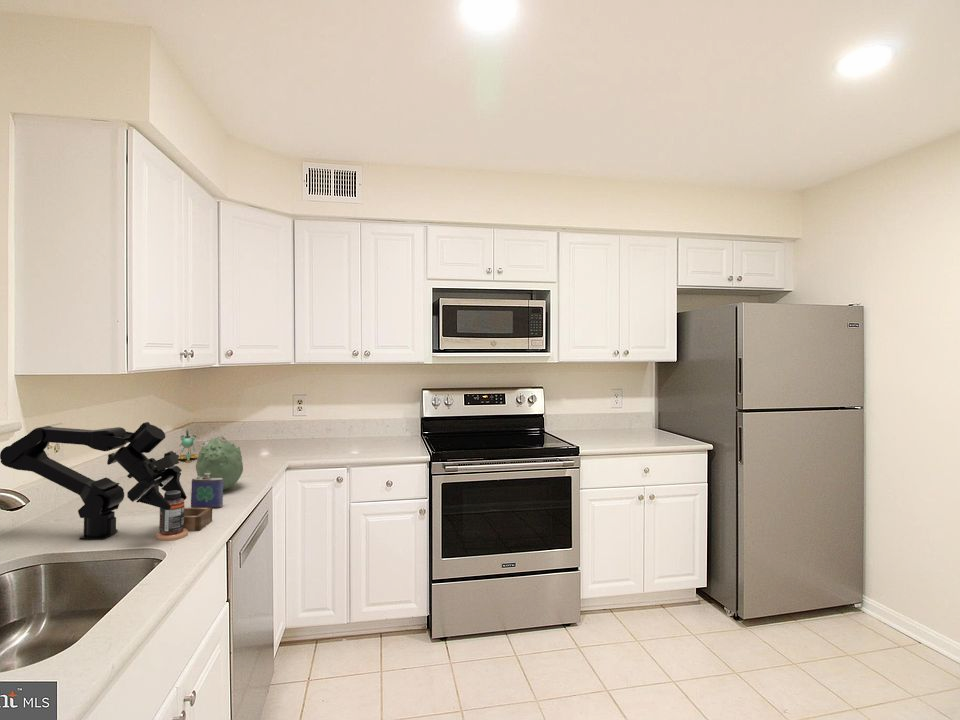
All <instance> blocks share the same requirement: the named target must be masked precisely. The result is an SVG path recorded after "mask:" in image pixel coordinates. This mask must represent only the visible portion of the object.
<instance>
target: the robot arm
mask: <svg viewBox="0 0 960 720" xmlns="http://www.w3.org/2000/svg"><path fill="white" fill-rule="evenodd" d="M164 439H166V433H165V431H163V429H162V428H159V427H157V426H156V425H154V424H150V422H148V421H146V422H143V423H141V424H140V426H139V427H138V428H137V430H135V431H134V432H131V431H126V429H125V428H123V427H120V426H119V427H109V428H108V427H107V428H100V429H82V428H71V427H70V428H69V427H68V428H67V427H54V426H50V425H45V426H42V427H41V426H40V427H36V428H34V429H32V430H31V431H30V432H29V433H28V434H25V436H23V437H21V438H19V439H17V440H16V441H15V442H13V443H12V444H11V445H8V446H5V447H4V448H2V449H1V451H0V463H1V465H3V466H4V467H6V468H10V469H14V470H17V471H23V472H24V471H25V472H32V473H35V474H36V475H39V476H41V477H42V478H44V479H47V480H48V481H50V482H52V483H54V484H57V485H59V486H60V487H62V488H64V489H67V490H69V491H70V492H73V493H74V494H76V495H78V496H79V497H80V499H81V500H82V502H83V505H82V506H81V507H80V508H79V509H78V510H77V512H78V516H79V518H80V519H83V535H81V536H80V537H79V539H80V540H104V539H107V538H108V537H111V536H112V535H114V534H115V533H117V532H118V531H119V529H118V528H117V517H116V516H115V513H116V511H115V510H118V509H119V506H120V504H121V503H122V502H123V501H124V499H125V491H124V488H123V487H122V486H121V485H120V483H119V482H116V481H113V480H112V479H111V478H109V477H103V478H101V479H97V480H95V479H92V478H90V477H88V476H86V475H84V474H81V473H79V472H78V471H76V470H74V469H72V468H70V467H68V466H66V465H64V464H62V463H60V462H58V461H56V460H54V459H53V458H50V457H49V456H48V455H47V452H46V450H45V449H46V448H48V446H49V444H50V443H52V444H53V443H54V444H68V445H79V446H80V445H81V446H87V447H89V448H91V449H93V450H97V451H102V452H108V451H109V452H110V451H112V450H116V449H117V450H116V451H115V452H112V453H108V455H107V462H106V463H107V465H109V466H110V465H111V464H115V463H118V464H119V465H120V466H121V467H122V468H123V469H124V471H126V472H127V473H128V475H126V477H127V478H128V479H132V478H133V479H134V480H136V481H137V483H136V484H135V485H134V486H132V488H130V490H128V491H127V495H126V496H127V498H128V499H129V500H130V501H131V502H132V503H134V502H135V501H136V503H141V504H145V505H150V506H153V507H155V508H159V509H160V508H162V509H166V510H169V509H170V508H171V506H170V504H169V503H168V502H167V501H166V499H165V498H164V495H162V493H161V492H160V490H159V489H161V490H162V491H164V492H167V491H173V490H177V491H181V496H180V498H182V499H184V501H185V500H186V499H187V498H188V497H187V495H186V493H185V491H184V489H183V487H182V485H181V482H180V477H181V475H182V471H183V470H182V468H180V467H179V466H178V464H179V463H180V462H179V459H178V458H179V456H180V455H179V454H177V453H176V452H174V451H173V450H170V451H168V452H166V453H164V455H163V457H161V458H159V459H157V460H156V458H154V457H150V458H148V456H146V455H145V454H149V453H150V452H152V451H153V450H154V449H155V448H156V447H157V446H158V445H160V444H161V443H162V442H163V441H164ZM127 444H128V445H127ZM125 445H126V446H125ZM144 453H145V454H144Z"/></svg>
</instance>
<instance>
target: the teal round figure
mask: <svg viewBox="0 0 960 720" xmlns="http://www.w3.org/2000/svg"><path fill="white" fill-rule="evenodd" d="M185 435H186V436H185ZM185 435H180V440H181V444H180V445H179V447H181V446H182V447H183V449H181V452H180V455H179V458H178V460H185V463H187V464H188V463H189V464H190V463H192V460H190V459H197V457H198V455H199V453H198V454H195V453H192V450H193V451H194V452H195V451H196V449H195V446H194V441H195V438H197V436H196V435H194V434H193V435H192V437H191V435H189V429H186V430H185ZM191 447H192V448H193V449H192V450H191ZM185 448H186V449H188V450H189V451H187V453H185V454H182V453H183V452H184V450H185Z"/></svg>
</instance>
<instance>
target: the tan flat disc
mask: <svg viewBox="0 0 960 720" xmlns="http://www.w3.org/2000/svg"><path fill="white" fill-rule="evenodd" d="M188 532H189V531H188V530H187V529H185V528H184V529H183V531H182V532H180V533H178V534H173V535H162V534H160V532H159V531H157V533H156V534H155V539H156V540H157V541H161V542H169V541H175V540H180V539H182V538H185V537H187V536H188Z"/></svg>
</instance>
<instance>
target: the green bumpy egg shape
mask: <svg viewBox="0 0 960 720" xmlns="http://www.w3.org/2000/svg"><path fill="white" fill-rule="evenodd" d="M240 448H241V447H240V446H237V447H236V445H235V443H234V442H233V443H231V442H230V441H229V440H228V439H227V438H226V437H225V436H223V435H222V436H218V437H215V438H211V439H210V440H209V439H207V440H206V441H205V442H203V443H202V444H201V448H200V451H199V452H198V457H197V458H196V464H195V471H196V475H197V476H196V477H199V476H200V478H202V477H203V476H205V473H211V474H210V478H223V491H226V490H228V489H229V488H231V487H233V486H234V485H235V484H236V483H237V482H238V481H239V480H240V478H241V477H242V474H243V472H244V464H243V457H242V453H241V452H242V451H241V449H240Z"/></svg>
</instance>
